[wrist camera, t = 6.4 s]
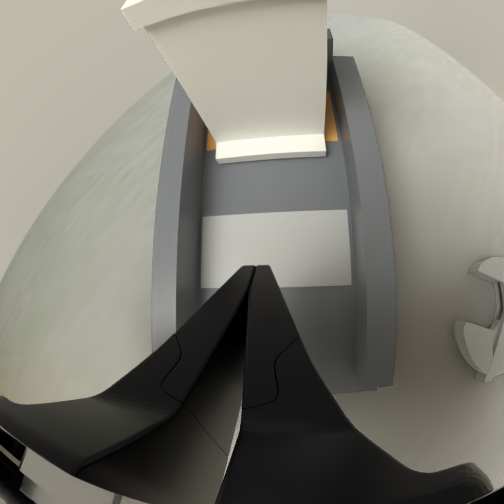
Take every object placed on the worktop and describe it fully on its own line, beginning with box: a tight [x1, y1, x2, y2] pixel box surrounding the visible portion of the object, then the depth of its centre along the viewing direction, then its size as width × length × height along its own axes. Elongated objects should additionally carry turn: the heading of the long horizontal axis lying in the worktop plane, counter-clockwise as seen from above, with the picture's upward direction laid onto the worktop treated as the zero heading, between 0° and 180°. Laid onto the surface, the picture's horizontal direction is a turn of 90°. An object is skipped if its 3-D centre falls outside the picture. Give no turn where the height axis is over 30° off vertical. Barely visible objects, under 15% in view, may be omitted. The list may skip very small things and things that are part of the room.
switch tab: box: [120, 0, 327, 164], centre depth 10 cm, size 5×6×10 cm
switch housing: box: [151, 29, 396, 393], centre depth 13 cm, size 18×10×6 cm, turn 0°
